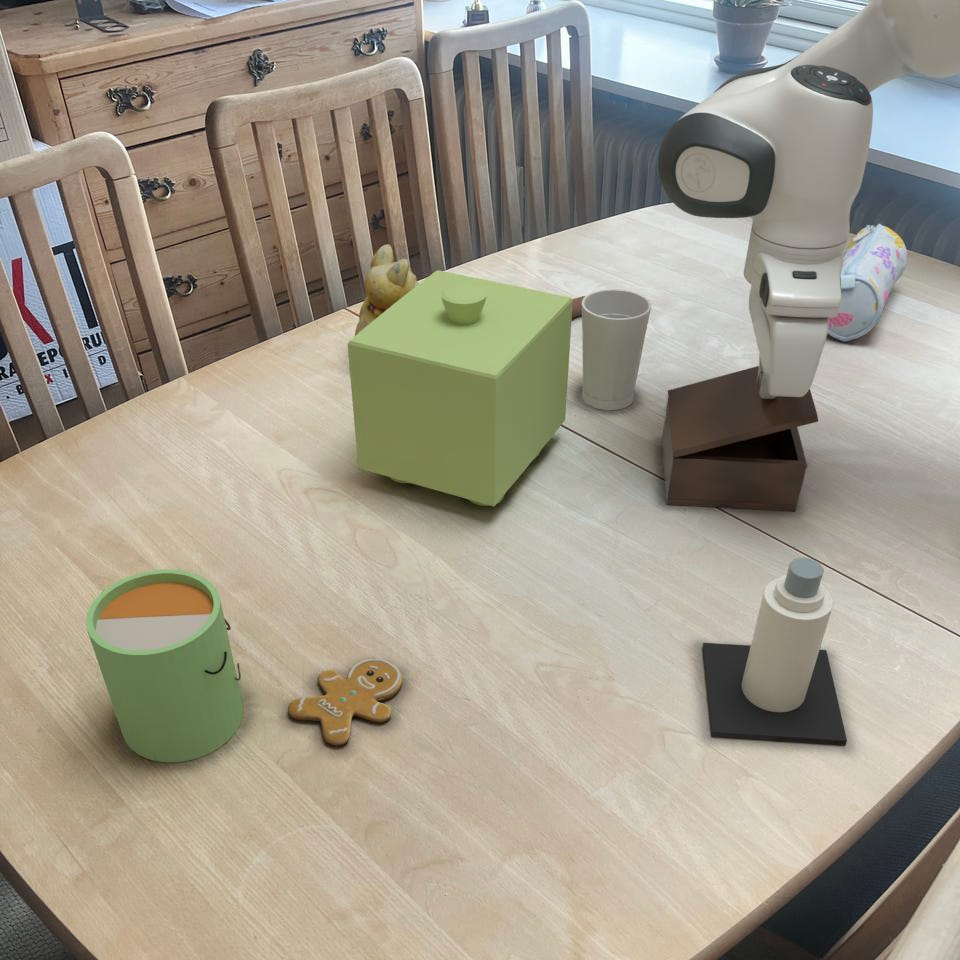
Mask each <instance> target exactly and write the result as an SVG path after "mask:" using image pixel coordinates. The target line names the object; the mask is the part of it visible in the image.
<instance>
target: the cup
mask: <svg viewBox="0 0 960 960" xmlns="http://www.w3.org/2000/svg"><path fill="white" fill-rule="evenodd" d="M584 296H585V297H584V298H583V300H582V315H581V331H582V333H581V335H582V339H581V340H582V389H581V399H582V401H583V402H584V403H585V404H586V405H587V406H589V407H591V408H594V409H597V410H603V411H618V410H623V409H625V408H628V407H629V406H631V405H632V404H633V402H634V398H635V390H636V386H637V385H636V384H637V379H638V375H639V369H640V364H641V359H642V353H643V349H644V344H645V339H646V333H647V329H648V324H649V320H650V314H651V309H652V303H651V301H650V300H649V299H648V298H647V297H646V296H645V295H643V294H640V293H638V292H636V291H632V290H627V289H620V288H618V289H617V288H607V289H600V290H596V291H592V292H590V293H588V294H587V295H584Z"/></svg>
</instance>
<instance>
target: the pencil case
mask: <svg viewBox="0 0 960 960" xmlns="http://www.w3.org/2000/svg"><path fill="white" fill-rule="evenodd" d="M907 259H908V252H907V246H906V244H905V242H904V240H903V239H902V238H901V237H900V235H899V234H898V233H896V231H894V230H893V229H891V228H889V227H888V226H886V225H883V224H881V223H878V224H877V225H876V226H875V225H870V224H867V225H866V226H865V227H864V228H861V230H859V231H858V232H857V234H856V235H854V237H853V238H851V240H850V242H849V243H848V244H847V246H846V249H845V253H844V262H843V266H842V271H841V275H840V276H841V296H842V299H841V305H840V309H839V312H838V315H837V316H836V317H832V318H829V326H828V332H827V335H829V336H830V337H832V338H835V340H838V341H841V342H850V341H853V340H856V339H858V338H860V337H863V336H864V335H866V334H867V333H870V331H871V330H872V329H873V328H874V327H875V326H876V325H877V324H878V323H879V321H880V319H881V317H882V313H883V311H884V309H885V306H886V304H887V301H888V297H889V295H890V294H891V292H892V290H893V289H894V287H895V285H896V283H897V282H898V281H899V279H900V278H901V277H902V276H903V274H904V272H905V270H906V267H907V263H908V261H907Z"/></svg>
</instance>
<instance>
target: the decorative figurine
mask: <svg viewBox="0 0 960 960" xmlns="http://www.w3.org/2000/svg"><path fill="white" fill-rule="evenodd" d="M364 278H365V279H364V291H365V293H366V296H365V299H364V301H363V303H362V305H361V306H360V310H359V314H358V323H357V325H356V327H355V331H354V336H356V335H357V334H358V333H359V332H360V331H361V330H363V329H364V328H365V327H366V326H368V325H369V324H370V323H371V322H372V321H374V320H375V319H376V318H377V317H379V316H380V315H381V314H382V313H383V312H385V311H386V310H387V309H388V308H390V307H391V306H392V305H393V304H395V303H396V302H397V301H398V300H400V299H401V298H402V297H403V296H405V295H406V294H407V293H408V292H410V291H411V290H412V289H413V288H415V287H416V286H417V285H419V284H420V283H419V282H418V279H417V276H416V275H415V274H414V273H413V271H412V268H410V263H409V260H408V259H407V258H401V259H400V260H398V261H395V256H394V252H393V248H392V246H391V244H388V243H387V244H384V245H382V246H381V247H380V248H379V249H378V250H377V251H376V252H375V253H374V255H373V256H372V258H371V262H370V268H369V271H368V272H367V273H366V275H365V277H364Z"/></svg>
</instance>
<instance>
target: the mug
mask: <svg viewBox="0 0 960 960" xmlns="http://www.w3.org/2000/svg"><path fill="white" fill-rule="evenodd" d="M85 626H86V631H87V634H88V637H89V640H90V643H91V645H92V648H93V649H92V650H93V652H94V655H95V657H96V660H97V663H98V666H99V669H100V672H101V675H102V678H103V681H104V684H105V687H106V691H107V693H108V696H109V699H110V702H111V704H112V708H113V711H114V713H115V716H116V720H117V723H118V725H119V728H120V732H121V734H122V737H123V739H124V742H125V744H126V745H127V746H128V747H129V749H130V750H131V751H133V752H134V753H135V754H137V755H138V756H140V757H143V758H144V759H147V760H150V761H154V762H158V763H159V762H160V763H182V762H183V763H184V762H189V761H192V760H196V759H200V758H203V757H204V756H206V755H209V754H211V753H213V752H214V751H217V750H218V749H220V748H221V747H222V746H224V745H225V744H226V743H227V742H228V741H230V740H231V739H232V737H233V736H234V735H236V733H237V731H238V729H239V728H240V726H241V723H242V721H243V718H244V702H243V698H242V694H241V689H240V685H239V681H240V680H241V679H242V678H241V677H242V676H241V675H242V674H241V669H240V663H239V662H237V664H235V662H234V657H233V652H232V647H231V643H230V638H229V633H228V631H231V625H230V623H229V622H228V621H227V619H226V618H225V615H224V611H223V606H222V601H221V596H220V594H219V592H218V589H217V588H216V586H214V584H213V583H212V582H211V581H209V580H208V579H207V578H206V577H204V576H202V575H200V574H198V573H194V572H192V571H188V570H183V569H182V570H181V569H174V568H173V569H172V568H171V569H170V568H169V569H168V568H165V569H152V570H148V571H142V572H139V573H136V574H135V573H134V574H132V575H129V576H127V577H124V578H122V579H120V580H118V581H116V582H113V584H111V585H109V586H108V587H106V589H104V590H103V591H102V592H100V594H99V595H97V596H96V597H95V598H94V600H93V601H92V603H91V604H90V606H89V608H88V610H87V612H86V617H85ZM235 665H237V671H236V666H235ZM237 672H238V675H237Z"/></svg>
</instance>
